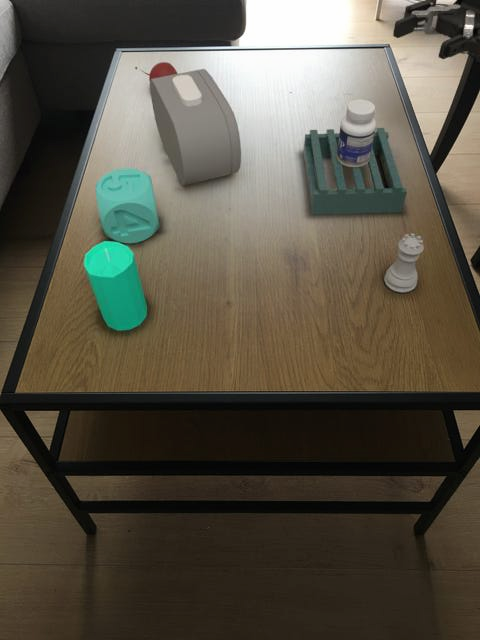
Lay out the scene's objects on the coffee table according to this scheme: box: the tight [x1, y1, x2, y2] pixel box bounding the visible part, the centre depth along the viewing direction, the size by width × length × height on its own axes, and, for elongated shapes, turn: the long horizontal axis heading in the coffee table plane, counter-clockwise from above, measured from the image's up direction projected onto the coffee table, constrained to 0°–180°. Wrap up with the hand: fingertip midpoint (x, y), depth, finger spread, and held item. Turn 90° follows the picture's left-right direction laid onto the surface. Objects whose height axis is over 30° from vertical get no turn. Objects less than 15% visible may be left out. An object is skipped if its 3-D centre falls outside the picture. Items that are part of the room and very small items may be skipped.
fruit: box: [134, 61, 179, 82], centre depth 107 cm, size 6×6×8 cm
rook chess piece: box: [383, 233, 425, 294], centre depth 72 cm, size 4×4×8 cm
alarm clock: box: [149, 68, 242, 186], centre depth 89 cm, size 21×10×13 cm, turn 19°
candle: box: [83, 240, 148, 332], centre depth 68 cm, size 6×6×12 cm
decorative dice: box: [95, 167, 160, 244], centre depth 81 cm, size 8×8×8 cm
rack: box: [303, 127, 408, 216], centre depth 87 cm, size 14×16×5 cm
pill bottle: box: [337, 99, 377, 168], centre depth 82 cm, size 5×5×9 cm
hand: (418, 40), depth 76 cm, fingers open, 8 cm apart
